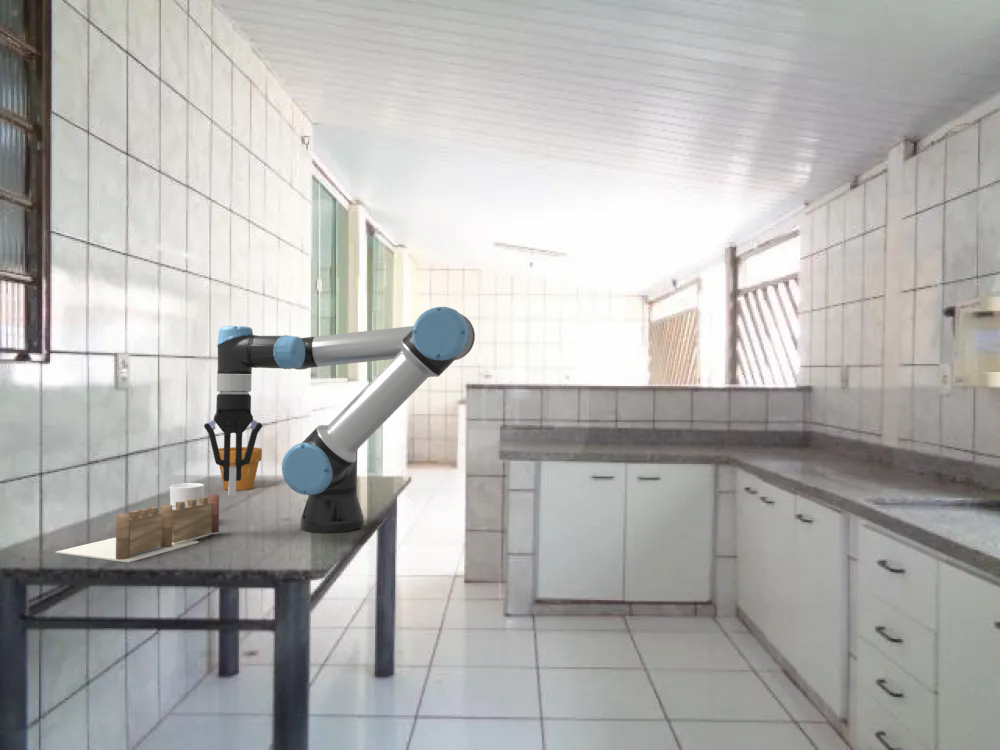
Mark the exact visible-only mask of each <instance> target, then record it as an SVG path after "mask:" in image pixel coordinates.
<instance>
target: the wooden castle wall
mask: <svg viewBox="0 0 1000 750" xmlns="http://www.w3.org/2000/svg"><path fill="white" fill-rule="evenodd" d="M115 519H116V520H115V537H116V559H118V560H122V559H128V558H129V555H132V554H135V553H139V552H143V551H147V550H150V549H154V548H158V547H171V546H172V505H170V504H162V505H159V507H158V506H152V507H148V508H141V509H138V510H131V511H129V512H128V513H118V514H116V515H115Z"/></svg>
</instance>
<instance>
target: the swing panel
mask: <svg viewBox="0 0 1000 750" xmlns="http://www.w3.org/2000/svg"><path fill="white" fill-rule="evenodd" d="M219 528H220V494H217V493H215V494H214V493H213V494H208V495H207V496H204V497H200V498H199V504H198V505H197V499H190V500H188V507H185V502H182V501H180V502H176V509H174V510H172V543H176V542H180V541H184V540H191V539H194V538H195V539H196V538H199V537H201V536H206V535H210V534H215V533H219V532H220V529H219Z"/></svg>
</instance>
